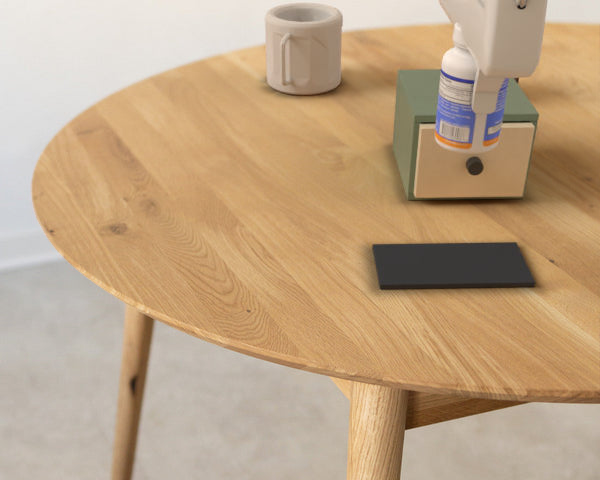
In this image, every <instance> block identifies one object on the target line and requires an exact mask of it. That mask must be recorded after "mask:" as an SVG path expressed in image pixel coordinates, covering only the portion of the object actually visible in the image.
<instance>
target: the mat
mask: <svg viewBox="0 0 600 480" xmlns="http://www.w3.org/2000/svg"><path fill="white" fill-rule="evenodd" d="M371 246H372V253H373V259H374V265H375V271H376V276H377V281H378V286H379V289H380V290H406V289H407V290H410V289H469V288H470V289H473V288H476V289H477V288H478V289H479V288H524V287H525V288H535V287H536V280H535V278H534V276H533V273H532V272H531V270H530V268H529V266H528V264H527V261H526V259H525V257H524V255H523V253H522V251H521V249H520V246H519V244H518V242H516V241H507V242H504V241H503V242H502V241H501V242H498V241H497V242H438V243H436V242H435V243H380V244H379V243H373V244H372V245H371Z"/></svg>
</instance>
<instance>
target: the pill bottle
mask: <svg viewBox="0 0 600 480" xmlns="http://www.w3.org/2000/svg"><path fill="white" fill-rule="evenodd" d="M453 30H454V33H453V32H452V43H453V45H454V44H455V47H454V46H453V47H451V48H450V49H448V50H447V51H445V53H444V54H443V56H442V58H441V59H442V60H441V66H440V69H441V75H440V84H439V95H438V105H437V115H436V125H435V140H436V142H437V143H438V144H439V145H440V146H441V147H443V148H444V149H447V150H449V151H453V152H458V153H467V154H476V153H484V152H488V151H490V150H492V149H494V148H495V147H496V146H497V144H498V142H499V139H500V133H501V127H502V120H503V114H504V107H505V101H506V94H507V87H508V81H509V78H505V80H504V82H503V84H502V86H501V88H500V90H499V92H498V98H497V104H496V109H495V111H494V112H493V113H491V114H476V113H474V112H473V110H472V108H471V106H470V103H469V99H470V91H471V85H474V82H475V77H476V72H477V70H476V69H475V65H476V61H475V60H474V58H473V56H472V55H471V53H470V52H469V50H468V48H467V47H466V45H465V44H464V42H463V40H462V38H461V29H460V27H459V25H458V24H457V22H456V23H455V26H453Z"/></svg>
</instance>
